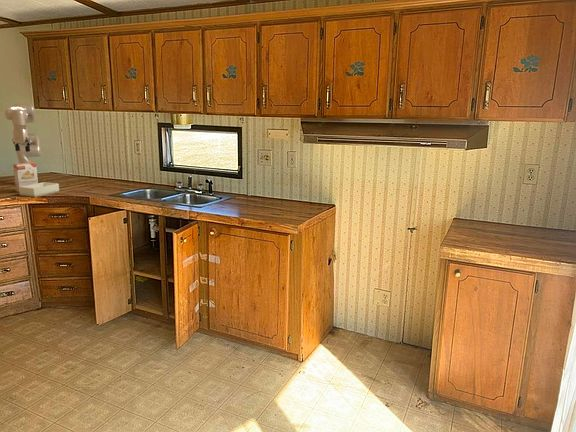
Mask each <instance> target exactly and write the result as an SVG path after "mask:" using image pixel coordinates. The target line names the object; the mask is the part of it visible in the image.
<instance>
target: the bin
mask: <svg viewBox="0 0 576 432" xmlns="http://www.w3.org/2000/svg"><path fill="white" fill-rule="evenodd" d="M59 192H60V184H59V183H56V182H55V183H54V182H45V181H44V182H38V183H37V184H32V185H26V186H21V187H19V192H18V194H19V196H22V197H23V196H24V197H32V198H36V197H40V196H45V195H50V194H54V193H59Z"/></svg>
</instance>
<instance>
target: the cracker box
mask: <svg viewBox="0 0 576 432" xmlns="http://www.w3.org/2000/svg"><path fill="white" fill-rule="evenodd" d="M12 166H13V175H14V185H15V192H17V193H19V187H21V186H26V185H32V184H37V183H39V181H38V180H39V179H38V169H37V163H36V162H32V163H22V164H19V163H13V164H12Z"/></svg>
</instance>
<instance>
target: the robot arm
mask: <svg viewBox="0 0 576 432" xmlns="http://www.w3.org/2000/svg"><path fill="white" fill-rule="evenodd" d="M35 109H36V108H35V106H34V105H33V104H32V103H16V104H13V106H11V107H6V108H5V110H4V116H5V118H6V120H8V121H11V123H12V125H13V132H12V133H13V134H12V139H11V141H12V143H13V146H14V148H15V152H16V155H17V156H16V157H17V159H18V164H22V163H33V161H32V160H31V159H30V158H40V157H41V156H42V144H41V138H40V136H39V134H37V133H29V128H28V127H27V126H26V125H27V124H26V123H33V124H34V123H35V122H37V116H36V115H37V114H36V110H35Z"/></svg>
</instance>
